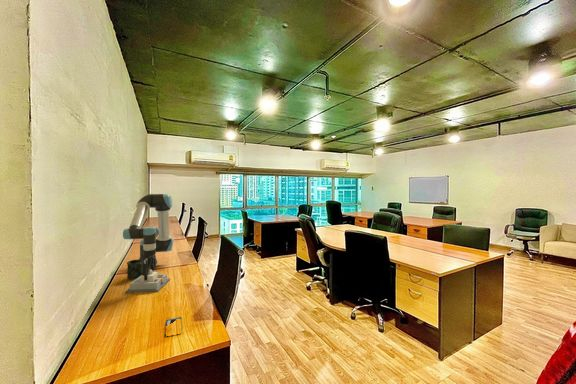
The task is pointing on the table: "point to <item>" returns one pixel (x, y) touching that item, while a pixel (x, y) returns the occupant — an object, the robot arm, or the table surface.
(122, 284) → the table surface
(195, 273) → the table surface
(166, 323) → the smartphone
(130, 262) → the mug
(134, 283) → the grey walled tray
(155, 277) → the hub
